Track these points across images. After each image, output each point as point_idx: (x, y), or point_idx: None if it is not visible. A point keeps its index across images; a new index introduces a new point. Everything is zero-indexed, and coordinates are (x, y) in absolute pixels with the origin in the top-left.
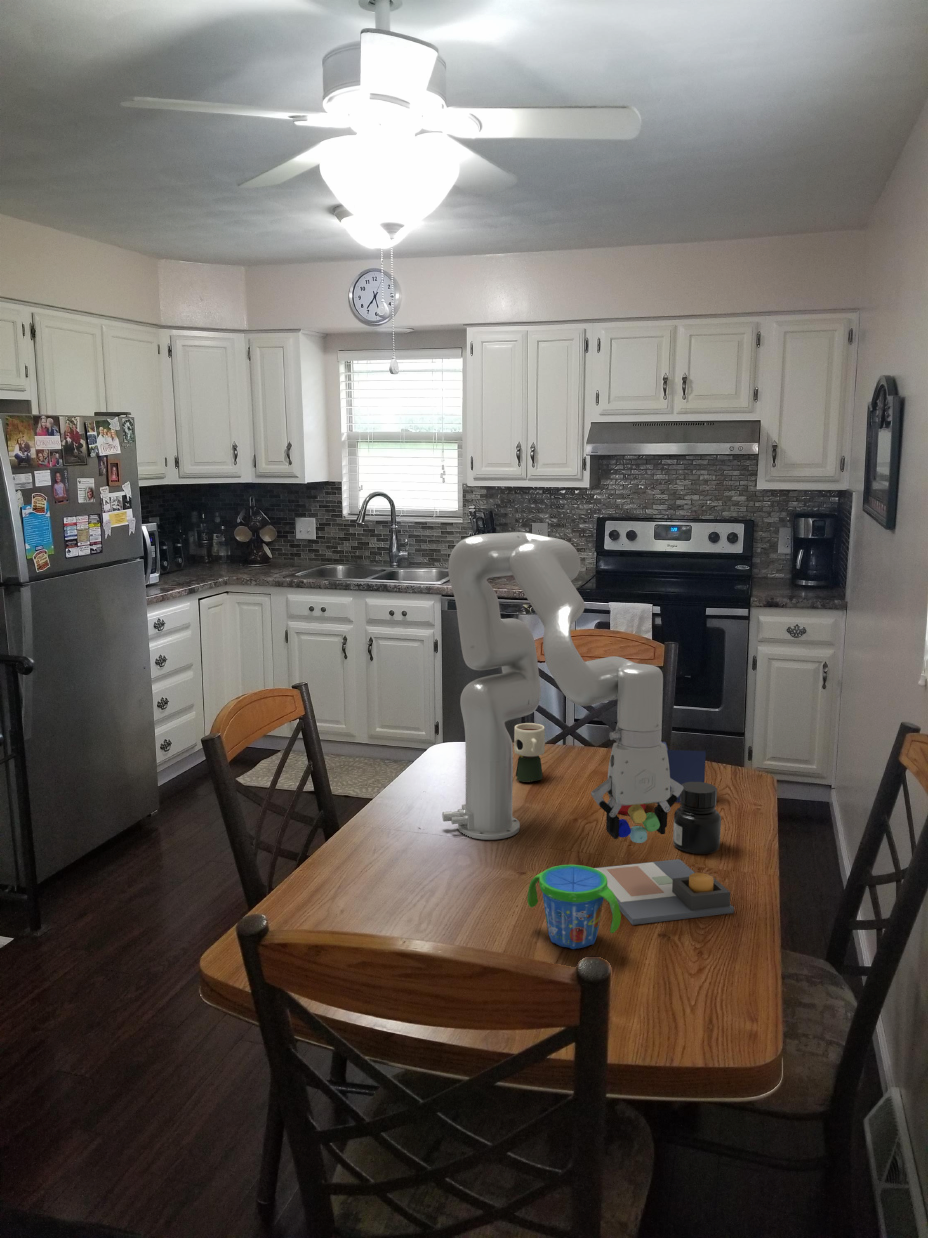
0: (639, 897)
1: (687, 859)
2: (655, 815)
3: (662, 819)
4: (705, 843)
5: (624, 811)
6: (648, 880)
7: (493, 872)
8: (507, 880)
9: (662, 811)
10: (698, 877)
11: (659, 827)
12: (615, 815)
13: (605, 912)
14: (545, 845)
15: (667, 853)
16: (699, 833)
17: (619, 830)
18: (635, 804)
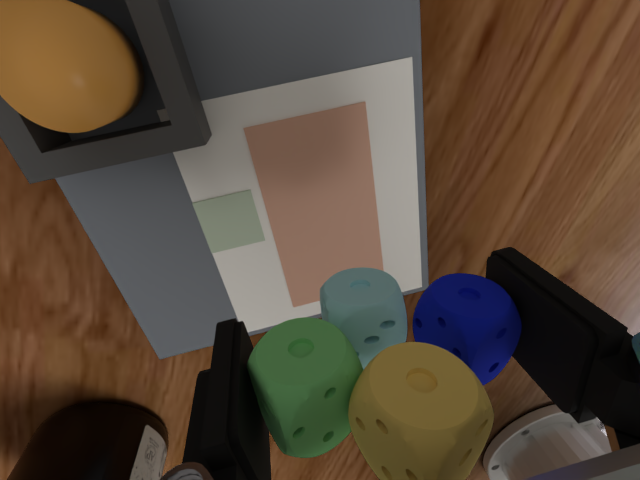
0: (339, 91)
1: (136, 375)
2: (284, 422)
3: (230, 396)
4: (64, 433)
5: None
6: (281, 218)
7: (620, 276)
8: (614, 240)
9: (223, 469)
10: (71, 74)
11: (247, 359)
12: (635, 348)
13: (460, 28)
14: None
15: (190, 398)
16: (71, 463)
17: (502, 291)
18: (608, 461)
